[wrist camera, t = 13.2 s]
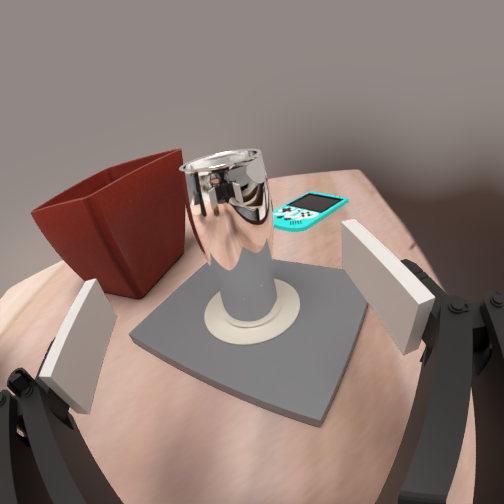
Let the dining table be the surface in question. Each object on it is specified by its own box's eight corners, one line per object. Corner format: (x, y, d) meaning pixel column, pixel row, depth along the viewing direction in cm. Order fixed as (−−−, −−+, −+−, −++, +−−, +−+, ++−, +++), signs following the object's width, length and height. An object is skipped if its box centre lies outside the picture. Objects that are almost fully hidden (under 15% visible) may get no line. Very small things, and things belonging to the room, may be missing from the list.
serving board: (134, 343, 28) (127, 332, 27) (221, 260, 41) (218, 249, 40) (320, 427, 17) (320, 419, 16) (374, 284, 29) (375, 271, 28)
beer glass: (205, 310, 28) (162, 170, 21) (254, 278, 32) (228, 148, 25) (248, 342, 23) (206, 172, 16) (300, 301, 27) (282, 148, 20)
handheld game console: (257, 224, 50) (255, 218, 50) (310, 195, 58) (309, 190, 58) (299, 237, 43) (298, 229, 42) (349, 203, 51) (349, 197, 50)
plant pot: (144, 320, 32) (86, 194, 23) (71, 299, 39) (28, 212, 31) (210, 243, 46) (184, 146, 38) (134, 243, 54) (107, 167, 45)
